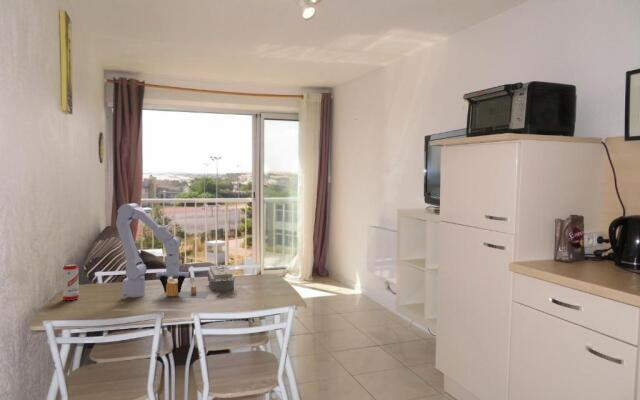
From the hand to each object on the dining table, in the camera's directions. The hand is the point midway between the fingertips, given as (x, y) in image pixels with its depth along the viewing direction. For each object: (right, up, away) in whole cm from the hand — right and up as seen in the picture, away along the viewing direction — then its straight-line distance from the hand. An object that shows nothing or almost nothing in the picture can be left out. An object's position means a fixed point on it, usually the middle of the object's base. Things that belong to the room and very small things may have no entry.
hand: (172, 292), depth 209 cm
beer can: (-45, -3, -5) cm, 45 cm away
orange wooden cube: (0, -1, 0) cm, 1 cm away
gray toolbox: (+18, -3, +20) cm, 27 cm away
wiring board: (+5, -3, +2) cm, 6 cm away
